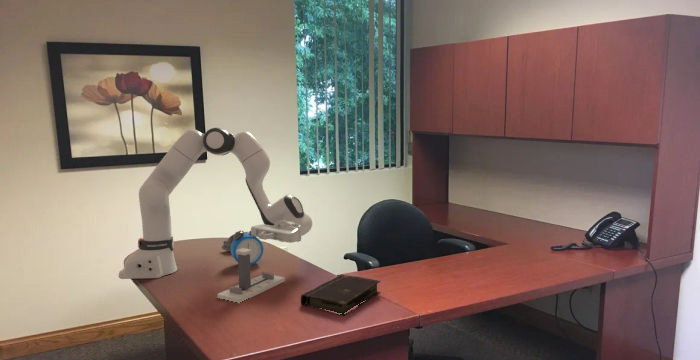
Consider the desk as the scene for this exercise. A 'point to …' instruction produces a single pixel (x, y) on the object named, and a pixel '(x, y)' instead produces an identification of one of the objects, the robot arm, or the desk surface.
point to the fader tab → (244, 268)
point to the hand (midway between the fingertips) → (261, 237)
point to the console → (251, 288)
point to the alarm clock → (247, 246)
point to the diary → (341, 293)
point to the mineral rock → (229, 243)
